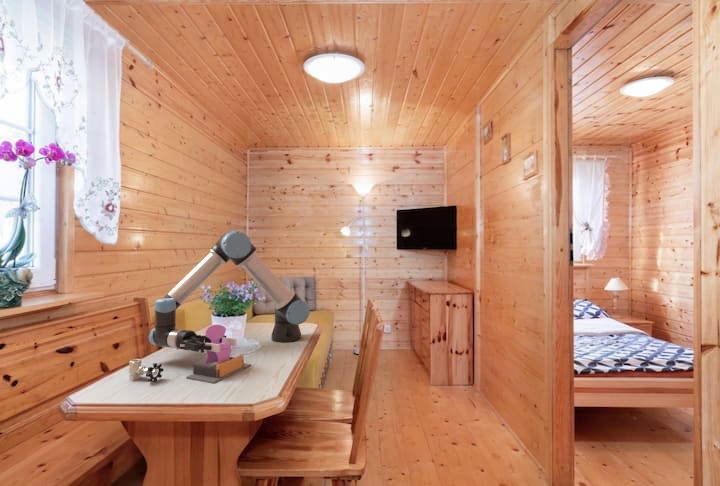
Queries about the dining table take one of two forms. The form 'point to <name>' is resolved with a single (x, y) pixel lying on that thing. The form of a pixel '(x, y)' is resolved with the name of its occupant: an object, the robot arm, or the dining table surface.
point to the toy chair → (215, 335)
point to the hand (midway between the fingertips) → (227, 345)
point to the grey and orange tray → (218, 370)
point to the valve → (143, 370)
